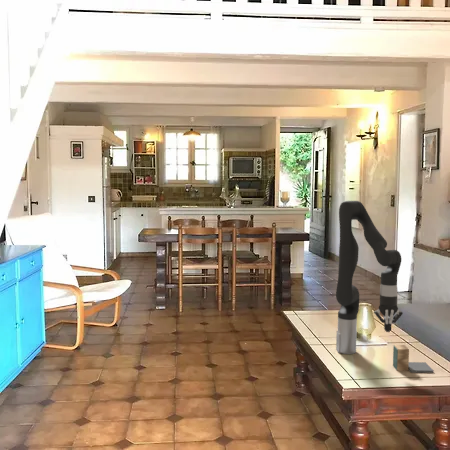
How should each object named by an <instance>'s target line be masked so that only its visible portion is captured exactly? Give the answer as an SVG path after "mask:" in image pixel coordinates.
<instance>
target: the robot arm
mask: <svg viewBox="0 0 450 450" xmlns="http://www.w3.org/2000/svg"><path fill="white" fill-rule="evenodd" d="M355 220H356V221H357V222H359V224H360V226H361V227H362V229H363V236H364V239H365V240H366V242H367V243H368V245H369V247H370V248H371V249H372V250H373V252H374V256H375V258H376V261H377V262H378V264H379V265H380V266H382V267H386V269H385V270H383V271H381V274H380V287H379V306H378V309H376V310H374V311H373V313H374V315H375V316H376V317H377V319H378V320H379V321H380V322H381V323H382V324H383V325H384V327H383V329H384V331H385V332H386V333H390V332H391V331H392V324H394V323H396V322H397V321H399V319H400V318H401V316H403V312H402V311H401V310H400V309H399V307H398V274H399V271H400V268H401V264H402V255H401V253H400V251H398V250H397V249H388V250H386V248H387V246H388V242H387V240H386V238H384V236H383V235H382V234H381V232H380V230H378V229H377V227H376V225H375V224H374V222H373V220H372V218H371V216H370V215H369V212H368V211H367V209H366V207H365V206H364V203H362V202H361V201H359V200H344V201H342V202H341V203H340V205H339V208H338V221H339V247H338V248H339V249H338V271H337V272H338V273H337V274H338V276H337V284H336V288H335V289H336V291H335V298H336V301H337V302H338V304H339V305H340V308H339V310H338V311H337V312H338V313H337V330H336V338H335V339H336V342H335V343H336V345H335V346H336V347H335V350H336V351H337V353H338V354H339V353H340V354H343V355H352V354H356V353H357V326H358V325H357V324H358V314H359V312H360V311H359V308H360V292H359V289H358V288H357V287H356V286H355V285H353V277H354V273H355V272H356V269H357V265H358V262H359V252H360V251H359V250H360V249H359V245H358V244H359V243H358V242H357V240H356V237H355V236H354V233H353V229H352V222H353V221H355ZM381 315H383V316H381ZM382 317H383V318H382Z"/></svg>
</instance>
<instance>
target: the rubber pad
mask: <svg viewBox="0 0 450 450" xmlns="http://www.w3.org/2000/svg"><path fill="white" fill-rule="evenodd" d="M408 372H410V373H419V374H420V373H421V374H422V373H424V374H426V373H428V374H429V373H430V374H434V373H435V371H434V369H433V368H432V367H431V366H430V365H428V363H427V362H425V361H424V362H422V361H421V362H419V361H409V367H408Z"/></svg>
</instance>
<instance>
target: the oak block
mask: <svg viewBox="0 0 450 450" xmlns="http://www.w3.org/2000/svg"><path fill="white" fill-rule="evenodd" d="M392 350H393V351H392V352H393V353H392V366H393V368H395V370H396V371H397V372H409V370H408V367H409V362H410V361H409V360H410V348H409V347H407V346H406V344H393V349H392Z"/></svg>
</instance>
